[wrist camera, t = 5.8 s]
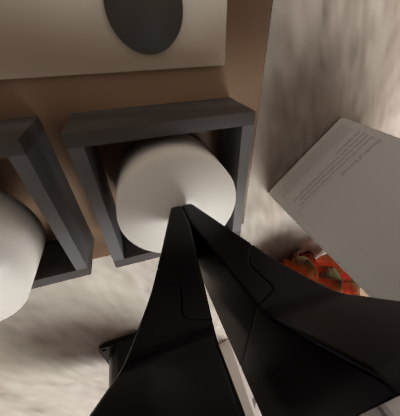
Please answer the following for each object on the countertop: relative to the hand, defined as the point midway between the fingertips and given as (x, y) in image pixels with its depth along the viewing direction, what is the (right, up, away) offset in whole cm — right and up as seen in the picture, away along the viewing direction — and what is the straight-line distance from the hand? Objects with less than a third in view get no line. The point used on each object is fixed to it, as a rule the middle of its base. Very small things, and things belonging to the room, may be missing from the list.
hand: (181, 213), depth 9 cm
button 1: (-1, +1, +2) cm, 3 cm away
